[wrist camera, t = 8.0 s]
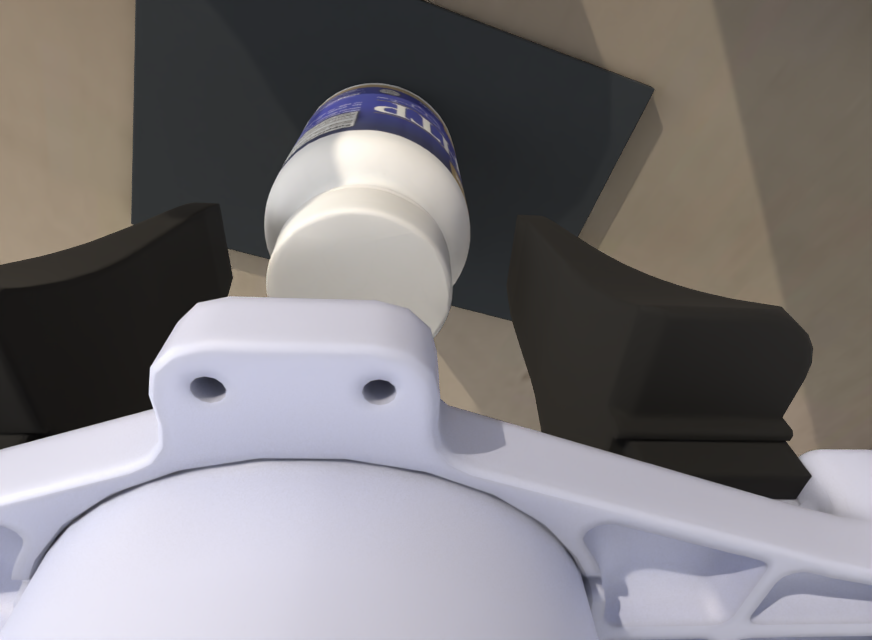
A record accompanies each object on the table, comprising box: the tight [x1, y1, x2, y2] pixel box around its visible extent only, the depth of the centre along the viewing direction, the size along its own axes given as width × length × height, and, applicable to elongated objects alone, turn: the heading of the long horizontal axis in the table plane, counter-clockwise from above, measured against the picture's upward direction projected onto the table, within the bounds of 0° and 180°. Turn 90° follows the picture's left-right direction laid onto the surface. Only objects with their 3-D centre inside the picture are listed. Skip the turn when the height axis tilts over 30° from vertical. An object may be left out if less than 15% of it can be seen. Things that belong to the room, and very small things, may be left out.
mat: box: [131, 0, 654, 321], centre depth 19 cm, size 16×10×1 cm, turn 72°
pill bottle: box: [264, 83, 470, 338], centre depth 15 cm, size 5×5×9 cm
